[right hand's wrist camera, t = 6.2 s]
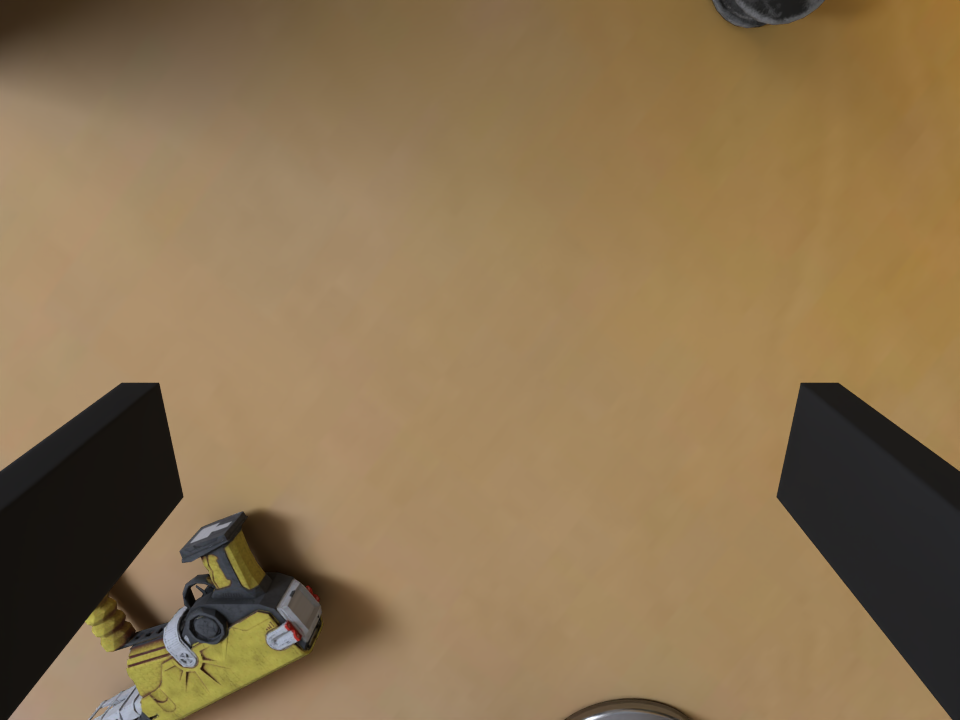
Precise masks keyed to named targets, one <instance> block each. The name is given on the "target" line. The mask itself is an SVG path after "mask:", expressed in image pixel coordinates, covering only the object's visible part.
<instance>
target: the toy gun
mask: <svg viewBox="0 0 960 720" xmlns="http://www.w3.org/2000/svg"><path fill="white" fill-rule="evenodd" d="M247 518H248V516H246V515H245V513H244V512H240V513H237V514H234V515H232V516H229V517H226V518H224V519H221V520H218V521H216V522H213V523H211V524H208V525H206V526H203V527H201V528H200V529H199V531H198V532H197V533H196V534H195V535H194V536H193V537H192V538H191V539H190V540H189V541H188V543H187V544H186V545H185V546H184V547H183V548H182V549H181V550H180V554H181V556H182V563H185V562H192V561H194V560H195V559H197V558H199V557H201V559H202V561H203V564H204V566H205V567H206V568H207V570H208V571H209V574H210V575H209V574H204V575H197V576H196V577H195V578H193V579H192V580H191V581H189V582H188V583H187V584H186V585H185V588H184V591H183V599H184V605H185V606H184V607H183V608H181V609H179V610H178V612H177V613H176V614H175V615H174V617H173V618H172V619H171V620H170V622H168V623H165V624H161V625H158V626H155V627H152V628H149V629H145V630H142V631H139V632H136V630H135V629H134V627H133V626H132V625H131V623H130V622H127V621H125V617H126V615H125V614H124V613H123V612H122V611H121V610H117V602H116V601H115V600H114V599H112V598H109V597H108V595H109V592H108V593H107V594H106V596H105V597H104V598H103V600H102V601H101V602H100V603H99V605H98V606H97V607H96V608H95V610H94V611H93V612H92V613H91V615H90V616H89V617H88V619H87V620H86V621H85V622H86V623H87V624H88V625H91V626H92V632H93V633H94V635H95V636H96V637H101V645H102V647H103V648H104V649H105V650H106V652H113V651H116V650H120V649H123V648H126V647H129V646H132V645H133V646H132V647H131V649H130V654H129V659H128V660H127V665H128V668H127V673H128V675H129V677H130V678H131V679H132V680H133V681H134V683H135V685H134V686H133V687H131V688H129V689H127V690H124V691H121V692H120V693H119V694H118V695H116V696H114V697H113V698H111V699H109V700H105V701H103V702H102V703H101V704H100V706H99V707H98V708H97V709H96V711H95V712H94V713H93V714H92V716H91V717H90V718H89V719H88V720H91V719H92V718H93V716H94V715H95V714H96V713H97V712H98V710H99V709H100V708H103V707H106V706H108V705H110V706H109V707H108V709H107V710H106V711H105V712H104V714H102V715H101V716H99V717H97V718H95V719H94V720H181V719H183V718H185V717H186V716H188V715H190V714H192V713H194V712H196V711H198V710H200V709H202V708H204V707H206V706H208V705H210V704H212V703H214V702H216V701H218V700H220V699H222V698H224V697H226V696H228V695H229V694H231V693H233V692H235V691H237V690H239V689H241V688H243V687H245V686H247V685H249V684H251V683H253V682H255V681H257V680H259V679H261V678H263V677H265V676H267V675H269V674H271V673H273V672H274V671H276V670H278V669H280V668H282V667H284V666H286V665H288V664H290V663H292V662H294V661H296V660H298V659H300V658H302V657H304V656H306V655H308V654H310V653H311V651H312V650H313V647H314V645H315V642H316V640H317V638H318V636H319V634H320V632H321V630H322V627H323V621H322V617H321V614H322V610H321V605H320V604H319V601H320V598H319V597H318V595H316V594H313V591H312V588H311V587H310V586H308V585H307V586H304V585H303V584H301V583H300V582H299V581H297V580H295V578H294V577H291V576H288V575H285V574H282V573H278V572H276V573H265V572H264V571H263V570H262V568H261V567H260V566H259V565H258V563H257V562H256V560H255V558H254V556H253V554H252V553H251V551H250V549H249V547H248V544H247V542H246V539H245V537H244V534H243V532H242V526H241V525H242V524H243V523H244V521H245V520H246V519H247ZM197 583H199V584H206V585H208V586H207V588H206V589H205V591H204V590H203V589H201V588H200V587H198V586H197V585H196V588H198V589H199V590H200V591H201V592H202V593H203V595H202V597H201V598H199V599H197V600H195V598H194V596H193V593H192V591H191V587H192V586H193V585H195V584H197ZM135 632H136V633H135ZM112 705H113V708H111V709H110V707H111V706H112Z"/></svg>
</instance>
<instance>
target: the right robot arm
mask: <svg viewBox="0 0 960 720" xmlns="http://www.w3.org/2000/svg"><path fill="white" fill-rule="evenodd" d="M182 498H183V492H182V488H181V483H180V478H179V474H178V469H177V464H176V460H175V455H174V450H173V446H172V441H171V436H170V431H169V427H168V422H167V417H166V413H165V408H164V403H163V399H162V394H161V389H160V384H159V383H121V384H119V385H118V386H117V387H115V388H114V389H113V390H111V391H110V392H108V393H107V394H106V395H104V396H103V397H102V398H100V399H99V400H97V401H96V402H95V403H93V404H92V405H91V406H89V407H88V408H87V409H85V410H84V411H82V412H81V413H80V414H78V415H77V416H76V417H74V418H73V419H71V420H70V421H69V422H67V423H66V424H65V425H63V426H62V427H60V428H59V429H58V430H56V431H55V432H54V433H52V434H51V435H50V436H48V437H47V438H45V439H44V440H43V441H41V442H40V443H39V444H37V445H36V446H34V447H33V448H32V449H30V450H29V451H28V452H26V453H25V454H23V455H22V456H21V457H19V458H18V459H17V460H15V461H14V462H13V463H11V464H10V465H8V466H7V467H6V468H4V469H3V470H2V471H0V720H8V719H9V717H10V716H11V715H12V713H13V712H14V711H15V710H16V708H17V707H18V706H19V705H20V703H21V702H22V701H23V700H24V698H25V697H26V696H27V694H28V693H29V692H30V691H31V689H32V688H33V687H34V686H35V684H36V683H37V682H38V681H39V679H40V678H41V677H42V675H43V674H44V673H45V672H46V670H47V669H48V668H49V667H50V665H51V664H52V663H53V662H54V660H55V659H56V658H57V656H58V655H59V654H60V653H61V651H62V650H63V649H64V648H65V646H66V645H67V644H68V643H69V641H70V640H71V639H72V637H73V636H74V635H75V634H76V632H77V631H78V630H79V629H80V627H81V626H82V625H83V624H84V622H85V621H86V620H87V619H88V617H89V616H90V615H91V613H92V612H93V611H94V610H95V608H96V607H97V606H98V605H99V603H100V602H101V601H102V600H103V598H104V597H105V596H106V594H107V593H108V592H109V591H110V589H111V588H112V587H113V586H114V584H115V583H116V582H117V581H118V579H119V578H120V577H121V575H122V574H123V573H124V572H125V570H126V569H127V568H128V567H129V565H130V564H131V563H132V562H133V560H134V559H135V558H136V556H137V555H138V554H139V553H140V551H141V550H142V549H143V548H144V546H145V545H146V544H147V543H148V541H149V540H150V539H151V537H152V536H153V535H154V534H155V532H156V531H157V530H158V529H159V527H160V526H161V525H162V524H163V522H164V521H165V520H166V518H167V517H168V516H169V515H170V513H171V512H172V511H173V510H174V508H175V507H176V506H177V505H178V503H179V502H180V501H181V499H182ZM777 498H778V499H779V501H780V502H781V503H782V505H783V506H784V507H785V508H786V510H787V511H788V512H789V513H790V515H791V516H792V517H793V518H794V520H795V521H796V522H797V524H798V525H799V526H800V527H801V529H802V530H803V531H804V532H805V534H806V535H807V536H808V537H809V539H810V540H811V541H812V543H813V544H814V545H815V546H816V548H817V549H818V550H819V551H820V553H821V554H822V555H823V556H824V558H825V559H826V560H827V562H828V563H829V564H830V565H831V567H832V568H833V569H834V570H835V572H836V573H837V574H838V575H839V577H840V578H841V579H842V581H843V582H844V583H845V584H846V586H847V587H848V588H849V589H850V591H851V592H852V593H853V594H854V596H855V597H856V598H857V600H858V601H859V602H860V603H861V605H862V606H863V607H864V608H865V610H866V611H867V612H868V613H869V615H870V616H871V617H872V619H873V620H874V621H875V622H876V624H877V625H878V626H879V627H880V629H881V630H882V631H883V632H884V634H885V635H886V636H887V637H888V639H889V640H890V641H891V643H892V644H893V645H894V646H895V648H896V649H897V650H898V651H899V653H900V654H901V655H902V656H903V658H904V659H905V660H906V662H907V663H908V664H909V665H910V667H911V668H912V669H913V670H914V672H915V673H916V674H917V675H918V677H919V678H920V679H921V681H922V682H923V683H924V684H925V686H926V687H927V688H928V689H929V691H930V692H931V693H932V694H933V696H934V697H935V698H936V700H937V701H938V702H939V703H940V705H941V706H942V707H943V708H944V710H945V711H946V712H947V713H948V715H949V716H950V717H951V719H952V720H960V471H958V470H957V469H956V468H954V467H953V466H952V465H950V464H949V463H947V462H946V461H945V460H943V459H942V458H941V457H939V456H938V455H937V454H935V453H934V452H932V451H931V450H930V449H928V448H927V447H926V446H924V445H923V444H921V443H920V442H919V441H917V440H916V439H915V438H913V437H912V436H910V435H909V434H908V433H906V432H905V431H904V430H902V429H901V428H900V427H898V426H897V425H895V424H894V423H893V422H891V421H890V420H889V419H887V418H886V417H884V416H883V415H882V414H880V413H879V412H878V411H876V410H875V409H873V408H872V407H871V406H869V405H868V404H867V403H865V402H864V401H863V400H861V399H860V398H858V397H857V396H856V395H854V394H853V393H852V392H850V391H849V390H847V389H846V388H845V387H843V386H842V385H841V384H839V383H801V384H800V389H799V394H798V399H797V403H796V408H795V413H794V417H793V422H792V427H791V431H790V436H789V441H788V446H787V450H786V455H785V460H784V464H783V469H782V474H781V478H780V483H779V488H778V492H777ZM565 720H690V719H689V718H688V717H686V716H685V715H684V714H682V713H681V712H679V711H677V710H676V709H673V708H671V707H669V706H666V705H663V704H660V703H657V702H652V701H647V700H637V699H623V700H613V701H607V702H602V703H599V704H595V705H592V706H589V707H587V708H584V709H582V710H580V711H578V712H576V713H574V714H572V715H571V716H569V717H568V718H566V719H565Z"/></svg>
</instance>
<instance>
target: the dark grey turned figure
mask: <svg viewBox="0 0 960 720" xmlns="http://www.w3.org/2000/svg"><path fill="white" fill-rule="evenodd" d="M712 1H713V3H714V5H715V7H716V9H717V11H718V12H719V13H720V14H721V16H722V17H723V18H724V19H725V20H727V21H729V22H730V23H732V24H734V25H736V26H740V27H745V28H752V27H760V26H763V25H765V24H771V25H777V24H788V23H791V22H793V21H796V20H799V19H801V18H804V17H805V16H807V15H808V14H810V13H811V12H813V11H814V10H816V9H817V8H818V7H819V6H820V5H821V4H822V3H823V2H824V1H825V0H712Z"/></svg>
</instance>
